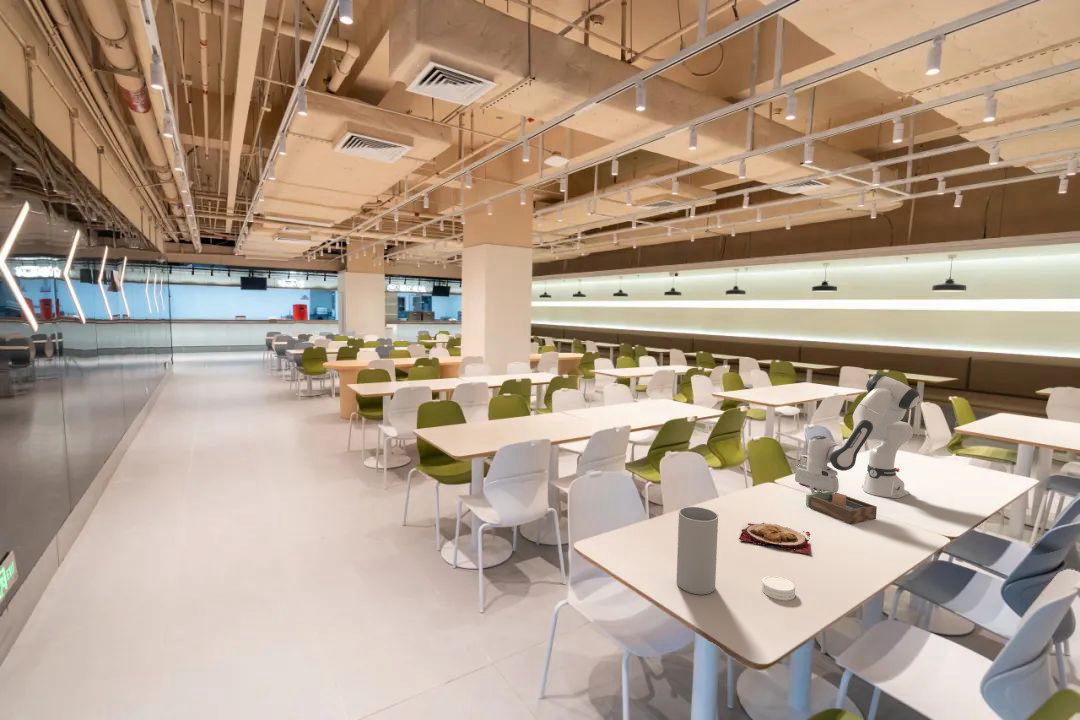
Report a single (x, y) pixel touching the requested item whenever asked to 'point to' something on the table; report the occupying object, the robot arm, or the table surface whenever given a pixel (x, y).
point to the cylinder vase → (697, 550)
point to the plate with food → (776, 537)
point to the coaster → (778, 588)
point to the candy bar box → (804, 462)
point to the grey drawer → (828, 497)
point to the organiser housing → (845, 510)
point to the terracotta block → (839, 499)
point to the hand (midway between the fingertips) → (815, 495)
